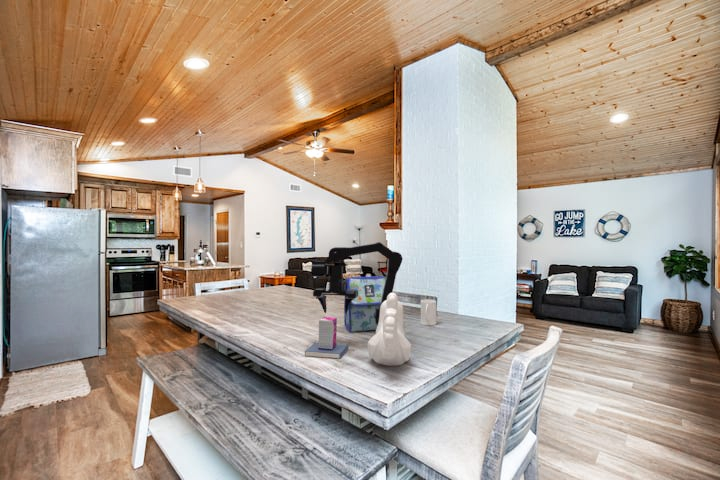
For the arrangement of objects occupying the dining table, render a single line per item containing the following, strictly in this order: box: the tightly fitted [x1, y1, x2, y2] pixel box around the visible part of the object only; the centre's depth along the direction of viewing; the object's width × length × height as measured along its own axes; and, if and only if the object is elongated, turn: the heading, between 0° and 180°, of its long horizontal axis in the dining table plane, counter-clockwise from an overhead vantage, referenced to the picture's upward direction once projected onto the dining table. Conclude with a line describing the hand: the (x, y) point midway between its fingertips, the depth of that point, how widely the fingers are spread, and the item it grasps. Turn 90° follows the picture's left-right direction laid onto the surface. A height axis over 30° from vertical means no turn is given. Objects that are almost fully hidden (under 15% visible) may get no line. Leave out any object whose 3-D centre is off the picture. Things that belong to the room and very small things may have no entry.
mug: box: [419, 299, 437, 326], centre depth 182 cm, size 12×8×12 cm
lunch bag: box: [343, 276, 386, 333], centre depth 173 cm, size 22×17×26 cm
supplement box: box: [317, 316, 338, 350], centre depth 135 cm, size 6×6×12 cm
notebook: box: [304, 342, 349, 360], centre depth 136 cm, size 14×11×2 cm
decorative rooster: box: [367, 292, 412, 367], centre depth 122 cm, size 25×16×25 cm, turn 161°
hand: (335, 313), depth 147 cm, fingers open, 9 cm apart
